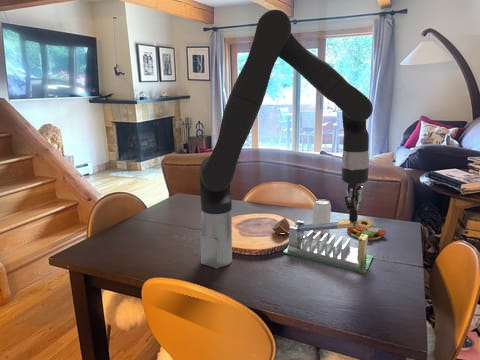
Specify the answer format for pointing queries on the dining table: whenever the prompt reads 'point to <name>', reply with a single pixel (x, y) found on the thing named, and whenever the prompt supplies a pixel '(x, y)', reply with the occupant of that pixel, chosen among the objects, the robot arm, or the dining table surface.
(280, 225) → the fruit slice
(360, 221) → the toy food set
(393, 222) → the dining table surface
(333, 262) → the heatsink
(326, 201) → the can
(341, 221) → the grey and tan bar
